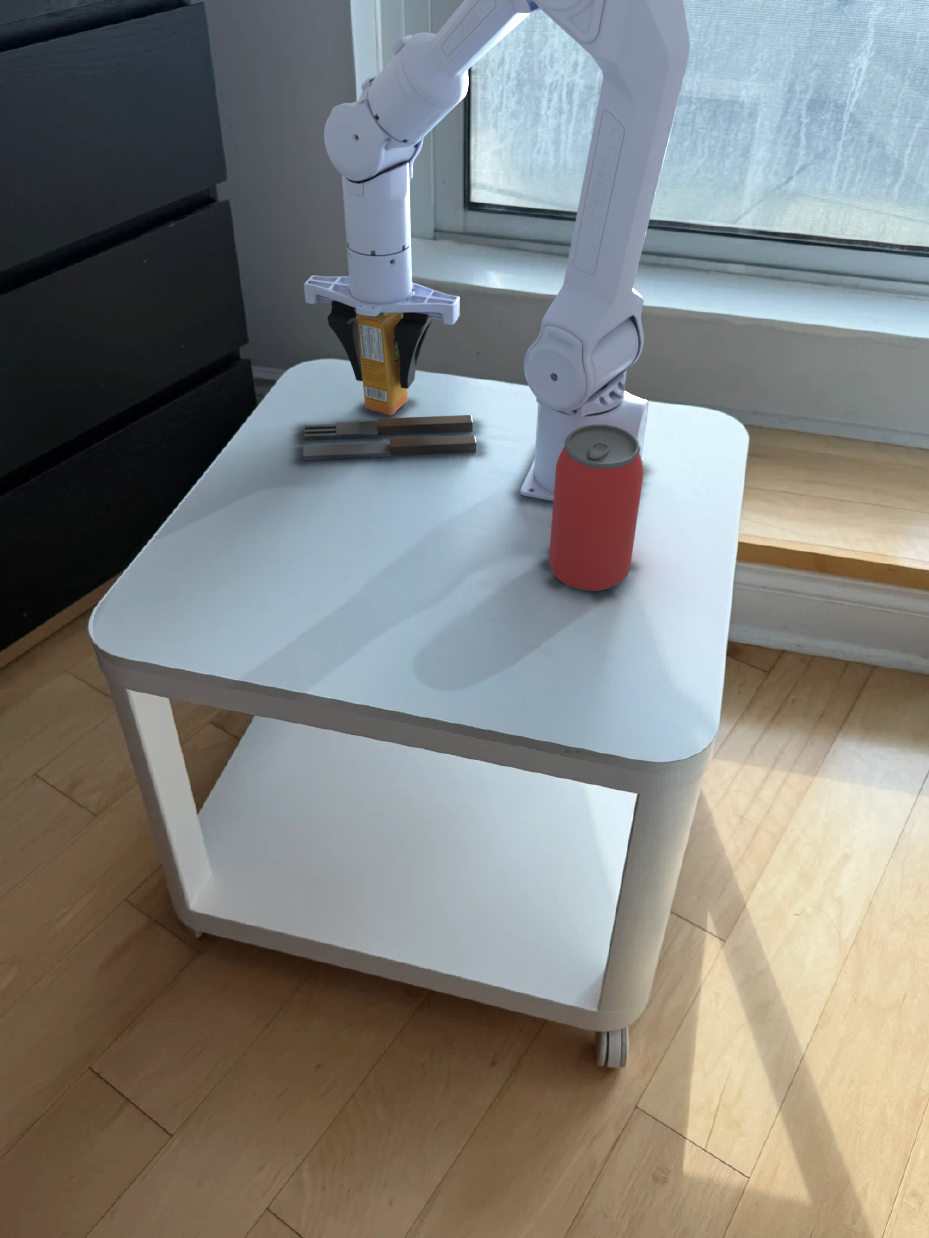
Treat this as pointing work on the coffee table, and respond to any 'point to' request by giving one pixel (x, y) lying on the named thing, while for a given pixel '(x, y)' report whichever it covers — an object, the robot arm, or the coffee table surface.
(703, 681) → the coffee table surface
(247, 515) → the coffee table surface
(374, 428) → the cutlery
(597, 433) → the beer can
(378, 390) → the supplement box
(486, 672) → the coffee table surface
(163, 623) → the coffee table surface
